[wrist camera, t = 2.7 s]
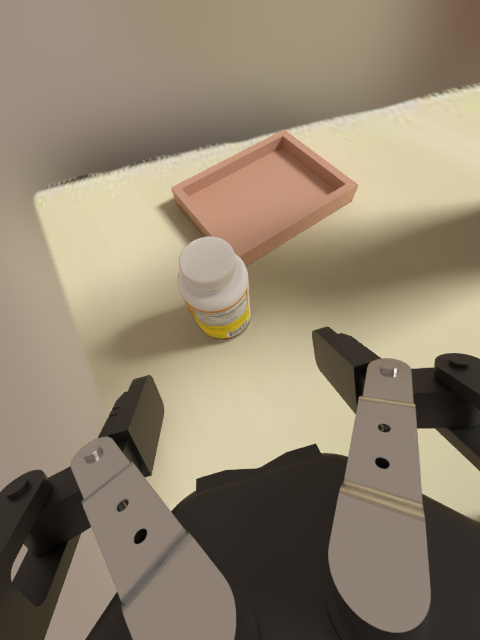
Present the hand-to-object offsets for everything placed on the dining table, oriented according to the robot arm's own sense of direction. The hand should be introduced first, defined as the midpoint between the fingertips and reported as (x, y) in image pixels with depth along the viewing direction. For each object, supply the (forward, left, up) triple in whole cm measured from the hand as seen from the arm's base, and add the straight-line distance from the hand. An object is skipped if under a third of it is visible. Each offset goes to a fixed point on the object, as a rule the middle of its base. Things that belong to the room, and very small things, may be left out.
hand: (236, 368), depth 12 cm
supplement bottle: (-3, -8, -12) cm, 15 cm away
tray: (-16, -19, -12) cm, 28 cm away
